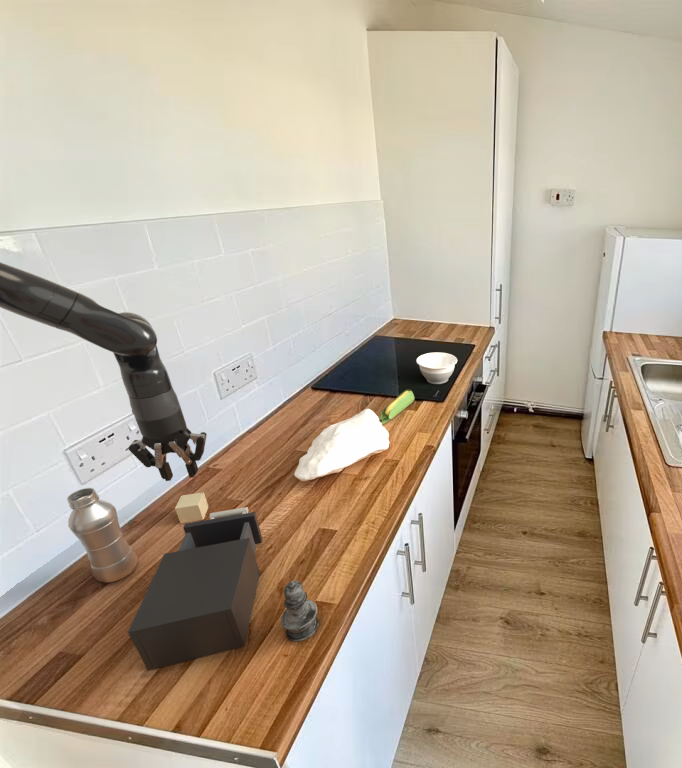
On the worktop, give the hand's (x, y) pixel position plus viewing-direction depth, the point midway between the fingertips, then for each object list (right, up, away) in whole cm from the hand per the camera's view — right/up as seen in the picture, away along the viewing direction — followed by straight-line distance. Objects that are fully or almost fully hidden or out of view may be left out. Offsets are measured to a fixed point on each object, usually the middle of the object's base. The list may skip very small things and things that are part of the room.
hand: (181, 476), depth 96 cm
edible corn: (+34, +11, +53) cm, 64 cm away
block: (-1, -10, +5) cm, 11 cm away
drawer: (+15, -16, -8) cm, 23 cm away
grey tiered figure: (+36, -24, -18) cm, 47 cm away
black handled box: (+19, -22, -17) cm, 34 cm away
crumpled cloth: (+27, 0, +28) cm, 39 cm away
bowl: (+44, +22, +77) cm, 92 cm away
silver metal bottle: (-5, -17, -10) cm, 20 cm away
